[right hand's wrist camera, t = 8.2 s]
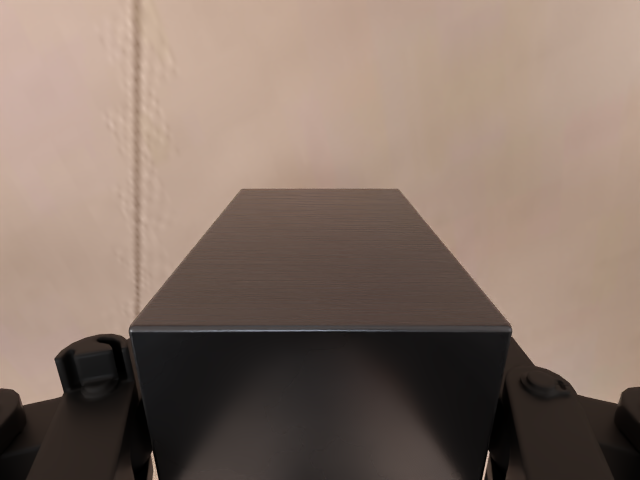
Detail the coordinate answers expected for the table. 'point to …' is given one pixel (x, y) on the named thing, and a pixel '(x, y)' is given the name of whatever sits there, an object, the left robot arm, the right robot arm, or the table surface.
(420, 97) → the table surface
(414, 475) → the bar
